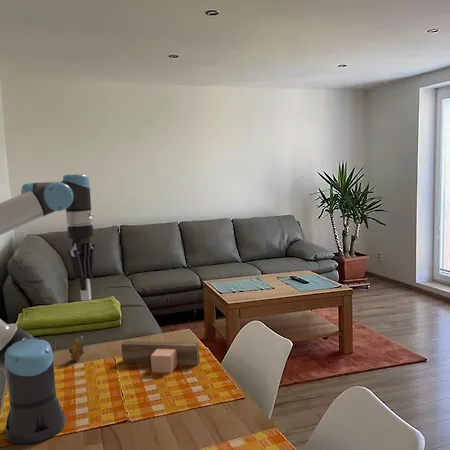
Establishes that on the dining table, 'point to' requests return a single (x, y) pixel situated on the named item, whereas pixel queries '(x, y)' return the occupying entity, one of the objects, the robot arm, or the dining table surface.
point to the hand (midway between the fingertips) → (86, 299)
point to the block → (164, 360)
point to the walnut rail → (144, 350)
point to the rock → (76, 349)
